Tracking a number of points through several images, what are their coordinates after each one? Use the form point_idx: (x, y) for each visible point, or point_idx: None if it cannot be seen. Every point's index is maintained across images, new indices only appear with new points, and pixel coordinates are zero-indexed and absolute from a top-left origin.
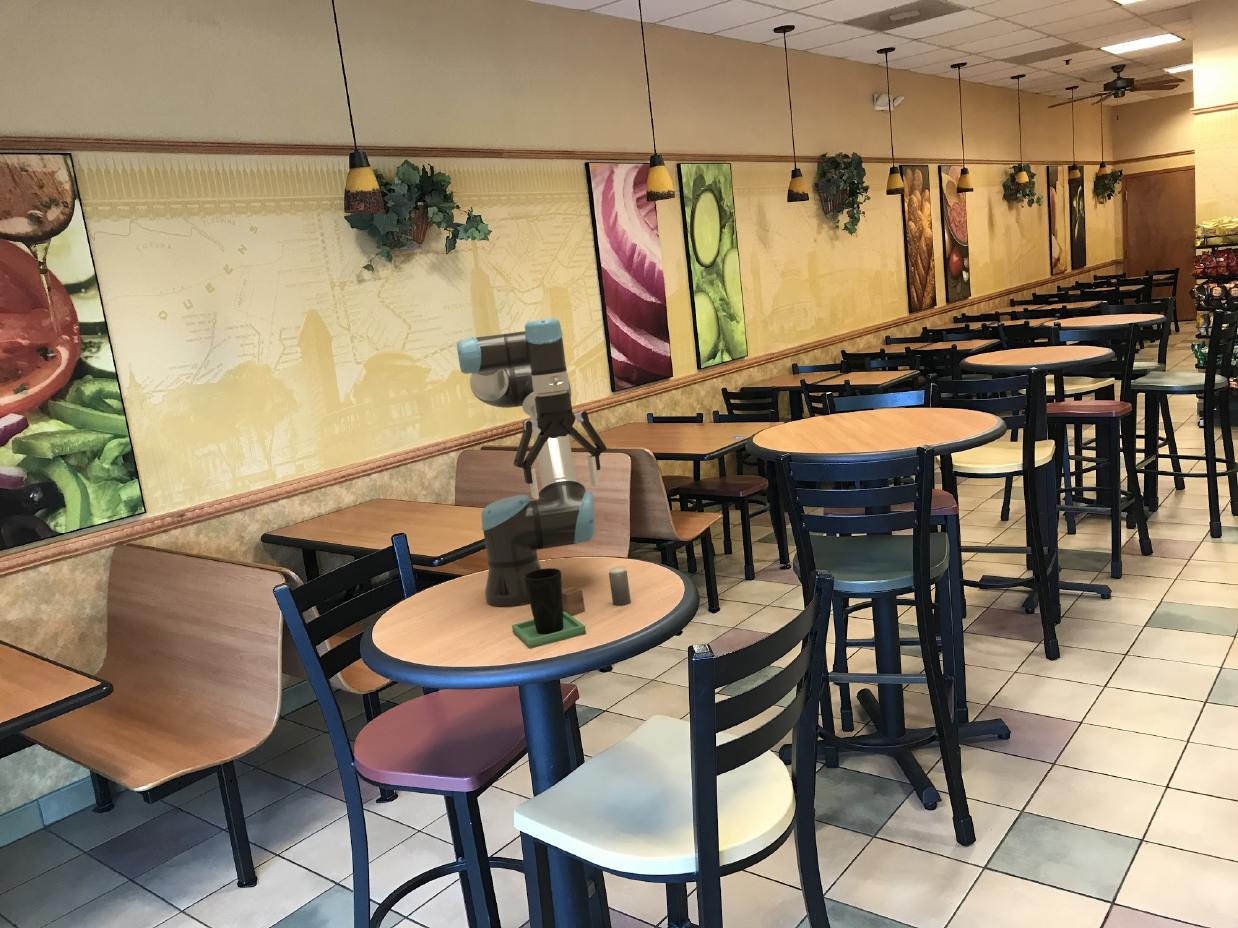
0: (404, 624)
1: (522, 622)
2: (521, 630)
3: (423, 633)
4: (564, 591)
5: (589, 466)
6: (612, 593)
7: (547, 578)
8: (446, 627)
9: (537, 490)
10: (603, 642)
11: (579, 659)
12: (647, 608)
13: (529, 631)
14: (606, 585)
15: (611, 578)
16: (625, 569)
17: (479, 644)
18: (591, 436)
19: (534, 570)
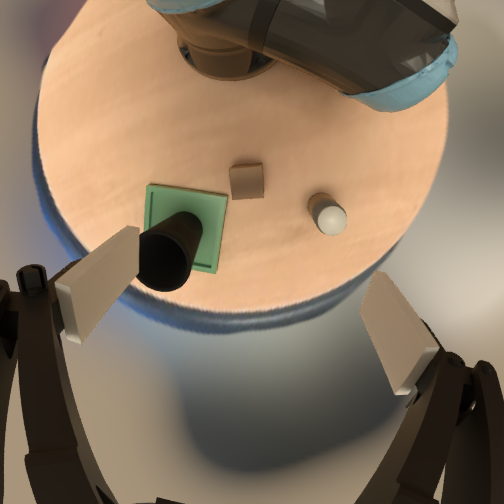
0: (78, 45)
1: (161, 188)
2: (148, 218)
3: (77, 95)
4: (239, 179)
5: (400, 323)
6: (310, 209)
7: (156, 290)
8: (101, 92)
9: (124, 287)
10: (217, 307)
11: (176, 323)
12: (325, 257)
13: (162, 211)
14: (357, 112)
15: (314, 219)
16: (341, 231)
17: (107, 191)
18: (459, 458)
19: (155, 231)
